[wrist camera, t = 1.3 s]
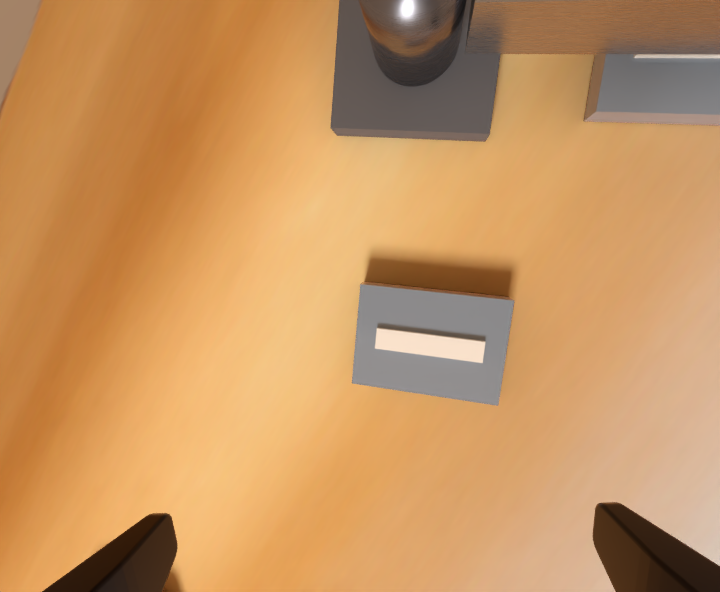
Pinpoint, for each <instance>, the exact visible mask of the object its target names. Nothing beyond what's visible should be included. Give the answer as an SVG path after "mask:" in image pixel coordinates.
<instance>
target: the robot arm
mask: <svg viewBox="0 0 720 592" xmlns="http://www.w3.org/2000/svg"><path fill="white" fill-rule="evenodd" d="M593 541H594V545H595V548H596V550H597V553H598V555H599V557H600V559H601V561H602V563H603V565H604V568H605V570H606V572H607V574H608V576H609V578H610V581H611V583H612V585H613V587H614V589H615V591H616V592H720V566H719V565H717V564H715V563H714V562H712V561H711V560H709V559H708V558H706V557H704V556H703V555H701V554H700V553H698V552H697V551H695V550H693V549H692V548H690V547H689V546H687V545H686V544H684V543H682V542H681V541H679V540H678V539H676V538H674V537H673V536H671V535H670V534H668V533H667V532H665V531H663V530H662V529H660V528H659V527H657V526H656V525H654V524H652V523H651V522H649V521H648V520H646V519H644V518H643V517H641V516H640V515H638V514H637V513H635V512H633V511H632V510H630V509H629V508H627V507H626V506H624V505H622V504H620V503H616V502H612V503H599V504H597V506H596V509H595V517H594V527H593ZM176 553H177V539H176V535H175V530H174V526H173V521H172V517H171V516H170V515H169V514H167V513H153V514H149V515H148V516H146V517H145V518H143V519H142V520H140V521H139V522H138V523H136V524H135V525H134V526H132V527H131V528H129V529H128V530H127V531H125V532H124V533H122V534H121V535H120V536H118V537H117V538H116V539H114V540H113V541H111V542H110V543H109V544H107V545H106V546H104V547H103V548H102V549H100V550H99V551H98V552H96V553H95V554H93V555H92V556H91V557H89V558H88V559H86V560H85V561H84V562H82V563H81V564H80V565H78V566H77V567H75V568H74V569H73V570H71V571H70V572H69V573H67V574H66V575H64V576H63V577H62V578H60V579H59V580H57V581H56V582H55V583H53V584H52V585H51V586H49V587H48V588H46V589H45V590H44V591H42V592H162V591H163V589H164V586H165V583H166V581H167V578H168V575H169V573H170V570H171V567H172V565H173V562H174V559H175V557H176Z"/></svg>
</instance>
